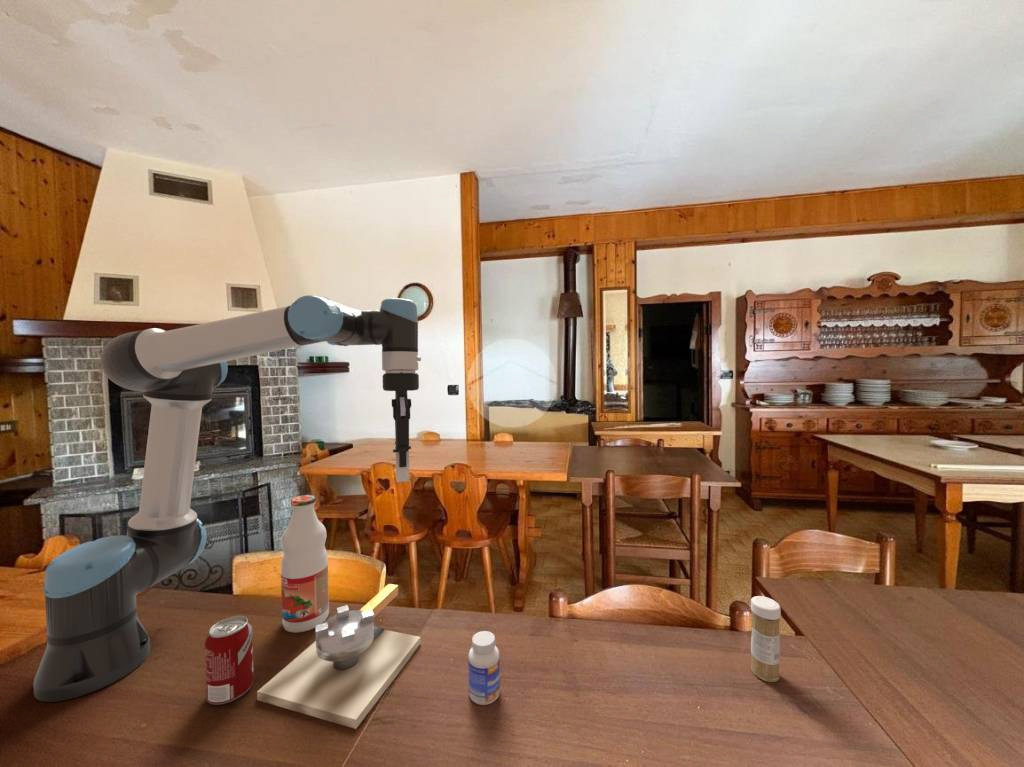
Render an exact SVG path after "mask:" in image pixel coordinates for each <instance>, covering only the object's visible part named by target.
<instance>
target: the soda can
mask: <svg viewBox="0 0 1024 767" xmlns="http://www.w3.org/2000/svg"><path fill="white" fill-rule="evenodd" d="M253 646H254V643H253V626H252V625H251V624H250V623H249V621H248V618H247V616H243V615H234V616H230V617H227V618H225V619H222V620H219V621H218V622H216V623H215V624H214V625H212V626H211V627H210V629H209V631H208V636H207V637H206V639H205V641H204V662H205V663H204V667H205V668H204V670H205V692H206V693H205V695H206V701H207V702H208V703H209V704H210V705H214V706H218V705H225V704H229V703H232V702H234V701H236V700H237V699H239V698H241V697H242V696H244V695H245V694H246V693H247V692H248V691H249V690H250V689H251V688H252V686H253V685H254V681H255V679H254V678H255V677H254V676H255V675H254V673H255V672H254V650H253V649H254V647H253Z"/></svg>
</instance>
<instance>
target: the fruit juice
mask: <svg viewBox="0 0 1024 767" xmlns="http://www.w3.org/2000/svg"><path fill="white" fill-rule="evenodd" d="M315 505H316V495H312V494H305V495H298V496H296V497H293V498H291V499H290V508H291V509H292V512H291V517H290V520H289V523H288V525H287V526H286V527H285V529H284V530H283V532H282V534H281V538H280V545H281V549H282V552H283V556H282V557H281V562H280V580H281V581H280V583H281V584H280V586H281V590H280V591H281V619H282V620H281V622H282V626H283V628H284V631H287V632H290V633H304V632H308V631H311V630H313V629H315V626H316V625H319V624H322V623H323V622H324V621H325V620H327V619H328V618H329V617H328V616H329V612H330V599H329V598H330V595H329V592H330V590H329V589H330V588H329V558H328V557H329V556H328V551H327V549H326V546H325V544H326V540H327V537H328V536H327V529H326V527H325V525H324V524H323V523H322V521H320V520H319V518H318V515H317V512H316V510H315Z"/></svg>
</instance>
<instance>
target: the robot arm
mask: <svg viewBox="0 0 1024 767" xmlns="http://www.w3.org/2000/svg"><path fill="white" fill-rule="evenodd" d="M322 342H323V343H324V342H327V344H328V345H332V346H340V347H342V346H343V347H348V346H371V345H375V346H380V345H381V347H382V348H381V370H382V371H383V372H384V373H383V374H382V390H383V391H385V392H394V393H395V396H394V397H395V398H391V407H392V417H393V420H394V429H395V430H394V432H395V433H394V434H395V441H394V445H395V446H394V448H393V449H392V453H395V482H396V483H401V482H410V450H411V449H412V446H411V445H410V420H411V407H412V399H411V398H408V397H409V396H408V391H409V392H410V391H417V390H419V388H420V375H419V374H418V373H416V371H419V362H421V361H422V357H421V356H419V321H418V308H417V304H416V303H415V302H414V301H413V300H411V299H407V298H397V297H396V298H395V297H393V298H384V299H383V300H382V301H381V303H380V308H379V309H355V308H352V307H350V306H349V307H348V306H346V305H343V304H340V303H338V302H335V301H333V300H331V299H329V298H328V297H322V296H319V295H318V296H317V295H313V294H311V295H310V294H309V295H308V294H306V295H303V296H300V297H298V298H297V299H296V300H295V301H294V302H292V304H291V305H287V306H283V307H277V308H273V309H267V310H263V311H257V312H252V313H249V314H244V315H238V316H233V317H229V318H224V319H223V318H222V319H220V320H215V321H214V320H213V321H210V322H204V323H199V324H196V325H194V324H193V325H190V326H185V327H179V328H175V329H170V330H165V329H162V328H157V327H153V328H152V327H151V328H146V329H142V330H137V331H130V332H126V333H123V334H120V335H118V336H116V337H114V338H113V339H111V340H109V341H108V342H107V343H106V345H104V347H103V349H102V351H101V353H100V358H99V359H100V366H101V369H102V371H103V373H104V375H105V376H106V377H107V378H108V379H109V380H110V381H111V382H113V383H114V384H115V385H117V386H119V387H121V388H123V389H126V390H130V391H135V392H142V393H143V394H142V397H143V398H144V399H145V400H146V401H147V402H149V403H150V404H151V407H150V408H151V409H150V416H149V423H148V424H149V425H148V433H147V434H148V435H147V441H146V449H145V458H144V464H143V465H144V468H143V477H142V482H141V483H142V485H141V492H140V500H139V508H138V512H137V513H136V514H135V515H133V516H132V517H131V518H130V519H129V520H128V522H127V529H126V535H118V534H117V535H109V536H105V537H100V538H97V539H95V540H94V541H89V540H88V541H86V542H84V543H81V544H79V545H76V546H74V547H71V548H69V549H67V550H66V551H64V552H62V553H60V554H59V555H57V556H56V557H55V558H53V560H51V561H50V563H48V564H47V567H46V569H45V572H44V584H43V586H42V592H43V594H44V600H45V622H46V644H47V645H46V648H45V650H44V653H43V656H42V657H41V658H42V659H41V661H40V664H39V666H38V668H37V671H36V673H35V676H34V678H33V683H32V685H33V696H34V699H36V700H37V701H39V702H43V703H44V702H46V703H53V702H54V703H56V702H64V701H68V700H71V699H76V698H79V697H82V696H85V695H88V694H91V693H93V692H96V691H98V690H101V689H102V688H105V687H107V686H109V685H111V684H114V683H115V682H117V681H119V680H120V679H123V678H124V677H126V676H127V675H129V674H130V673H132V672H133V671H135V670H136V669H137V668H139V666H140V665H142V664H143V663H144V662H145V661H146V659H147V658H148V657H149V655H150V653H151V639H150V636H149V635H148V632H147V631H146V629H145V627H144V625H143V623H142V622H141V620H140V619H139V616H138V612H137V611H138V610H137V607H138V606H137V595H140V594H141V593H143V592H144V591H146V590H148V589H149V588H151V587H153V586H155V585H156V584H158V583H160V582H162V581H163V580H165V579H166V578H168V577H170V576H172V575H174V574H177V573H179V572H181V571H182V570H183V569H185V568H187V567H188V566H189V565H190V564H192V563H193V562H195V560H196V559H198V558H199V557H200V555H201V554H202V552H204V550H205V547H206V542H207V538H208V537H207V536H208V535H207V530H206V527H203V526H202V525H203V522H202V521H201V520H200V519H199V518H198V513H197V512H196V511H195V510H193V509H192V508H191V501H192V494H193V484H194V476H195V468H196V461H197V454H198V453H197V452H198V444H199V437H200V436H199V435H200V428H201V420H202V412H203V407H204V406H205V405H206V404H208V403H209V402H210V401H212V399H213V390H214V389H215V388H216V387H219V386H220V385H221V384H222V383H224V381H225V380H226V378H227V375H228V370H229V369H228V368H229V367H228V361H234V360H238V359H239V360H241V359H244V358H249V357H253V356H254V357H255V356H259V355H264V354H267V353H273V352H278V351H281V350H286V349H287V350H288V349H292V348H297V347H302V346H308V345H314V344H318V343H322Z"/></svg>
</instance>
